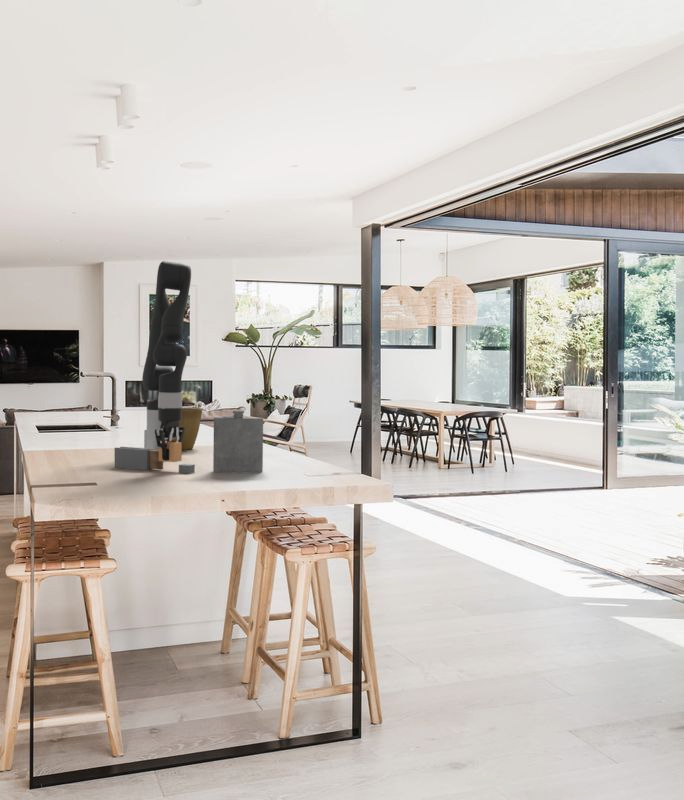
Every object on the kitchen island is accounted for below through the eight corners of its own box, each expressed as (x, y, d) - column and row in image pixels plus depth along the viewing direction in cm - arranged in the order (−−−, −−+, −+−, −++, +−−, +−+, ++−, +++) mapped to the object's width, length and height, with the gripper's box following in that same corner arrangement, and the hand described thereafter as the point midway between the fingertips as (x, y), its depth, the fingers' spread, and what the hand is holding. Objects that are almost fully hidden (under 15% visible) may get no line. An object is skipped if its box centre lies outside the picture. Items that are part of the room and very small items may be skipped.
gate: (125, 466, 283) (125, 448, 283) (127, 466, 284) (127, 448, 284) (160, 469, 277) (160, 451, 277) (163, 469, 279) (163, 450, 278)
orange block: (158, 461, 276) (158, 442, 276) (165, 459, 280) (165, 441, 280) (174, 462, 274) (174, 443, 273) (181, 460, 277) (181, 442, 277)
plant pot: (208, 448, 343) (209, 408, 342) (189, 452, 329) (189, 410, 328) (176, 446, 348) (176, 406, 347) (156, 449, 335) (156, 408, 334)
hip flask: (262, 471, 281) (263, 410, 280) (262, 472, 277) (263, 411, 276) (213, 470, 280) (214, 409, 279) (212, 472, 276) (213, 410, 275)
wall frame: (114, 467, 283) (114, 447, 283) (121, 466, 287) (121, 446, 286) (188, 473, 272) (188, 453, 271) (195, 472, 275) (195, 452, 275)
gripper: (172, 404, 284) (172, 456, 285) (147, 407, 271) (146, 461, 272) (192, 405, 281) (191, 457, 282) (167, 408, 268) (166, 462, 269)
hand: (169, 459), depth 277 cm, fingers closed on orange block, 4 cm apart
